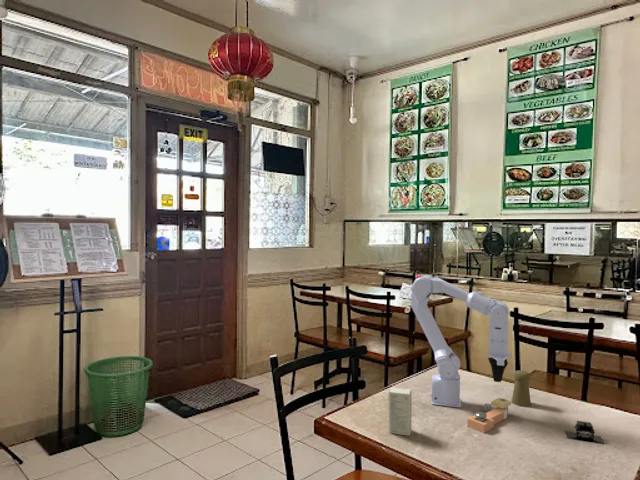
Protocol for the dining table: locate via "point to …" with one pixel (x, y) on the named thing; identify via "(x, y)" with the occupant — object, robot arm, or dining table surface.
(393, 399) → the skincare box
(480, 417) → the stand
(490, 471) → the dining table surface
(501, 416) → the link
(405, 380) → the dining table surface
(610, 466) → the dining table surface
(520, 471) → the dining table surface
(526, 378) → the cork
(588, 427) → the black piece
